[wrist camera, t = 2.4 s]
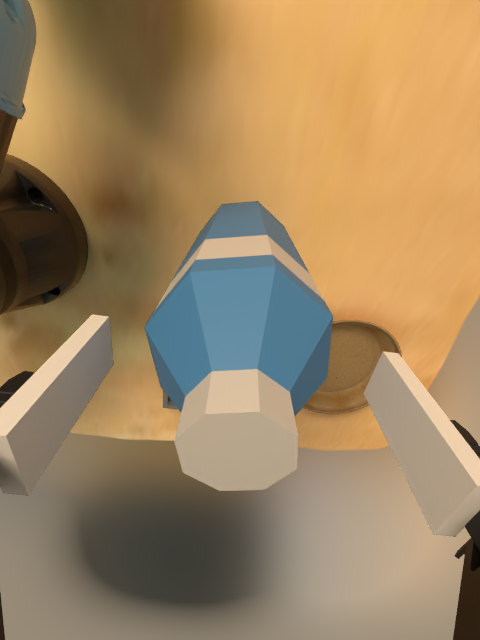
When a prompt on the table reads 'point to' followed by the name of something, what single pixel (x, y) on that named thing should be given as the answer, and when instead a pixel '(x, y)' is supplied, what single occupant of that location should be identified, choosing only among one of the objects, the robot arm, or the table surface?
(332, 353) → the plant saucer
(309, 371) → the water bottle
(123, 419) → the table surface
